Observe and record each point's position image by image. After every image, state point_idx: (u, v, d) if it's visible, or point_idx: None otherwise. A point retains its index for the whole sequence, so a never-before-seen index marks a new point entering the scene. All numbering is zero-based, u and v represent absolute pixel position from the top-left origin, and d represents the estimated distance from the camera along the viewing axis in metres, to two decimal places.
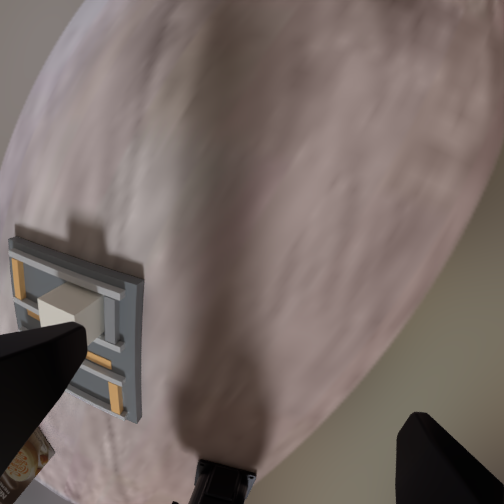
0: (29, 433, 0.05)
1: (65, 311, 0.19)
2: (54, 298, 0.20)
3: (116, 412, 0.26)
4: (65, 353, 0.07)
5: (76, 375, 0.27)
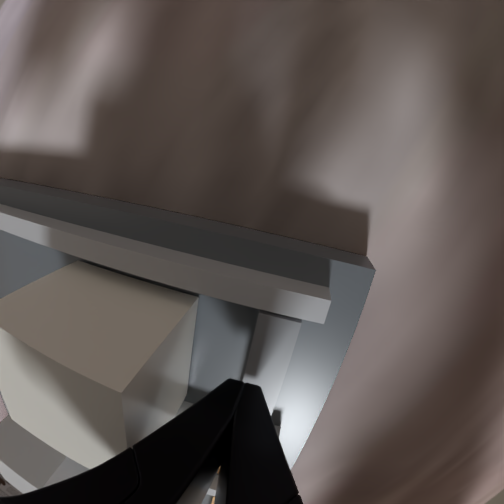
0: None
1: (76, 369, 0.04)
2: (33, 312, 0.05)
3: None
4: None
5: None
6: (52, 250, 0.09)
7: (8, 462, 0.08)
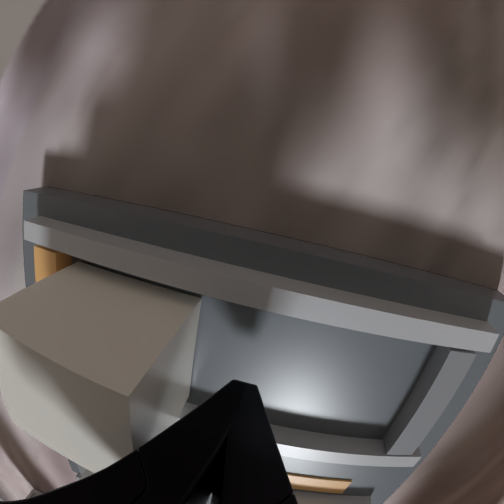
0: None
1: (82, 373, 0.04)
2: (35, 315, 0.05)
3: None
4: None
5: None
6: (194, 295, 0.08)
7: None
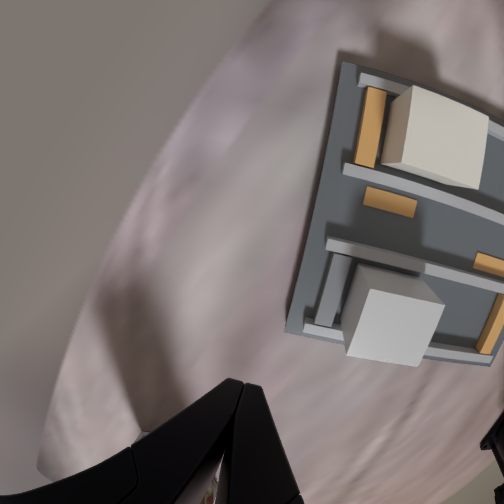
0: None
1: (472, 109, 0.10)
2: None
3: (486, 352, 0.16)
4: None
5: None
6: None
7: (407, 295, 0.13)
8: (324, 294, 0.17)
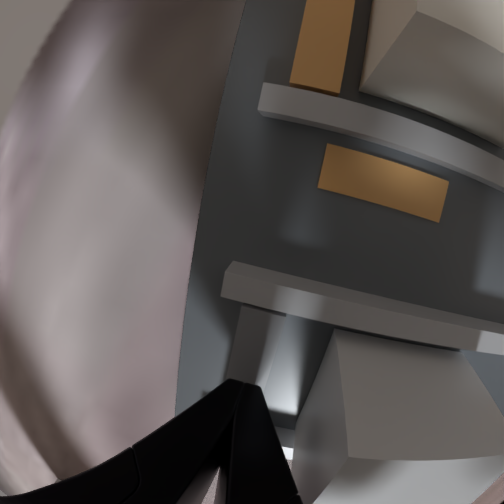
0: None
1: None
2: None
3: None
4: None
5: None
6: None
7: (450, 451, 0.04)
8: None
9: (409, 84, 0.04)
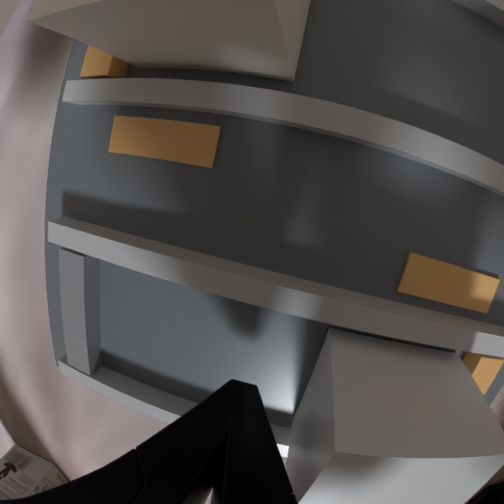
0: None
1: None
2: None
3: None
4: None
5: (297, 379, 0.08)
6: None
7: (438, 449, 0.04)
8: (64, 319, 0.08)
9: (130, 51, 0.05)
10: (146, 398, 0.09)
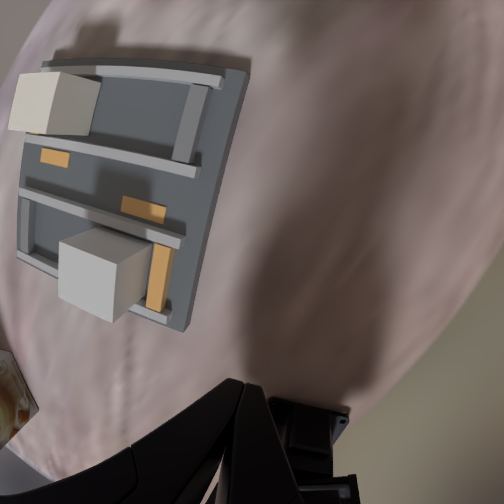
0: None
1: (50, 72, 0.12)
2: None
3: (154, 308, 0.18)
4: None
5: None
6: None
7: (87, 250, 0.15)
8: (21, 227, 0.19)
9: None
10: (46, 263, 0.20)
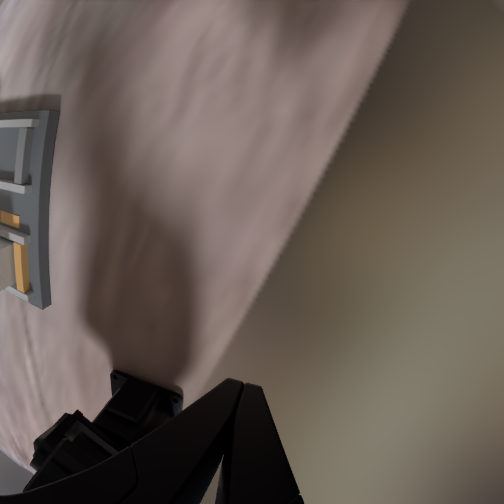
0: None
1: None
2: None
3: (21, 290, 0.21)
4: None
5: None
6: None
7: None
8: None
9: None
10: None
